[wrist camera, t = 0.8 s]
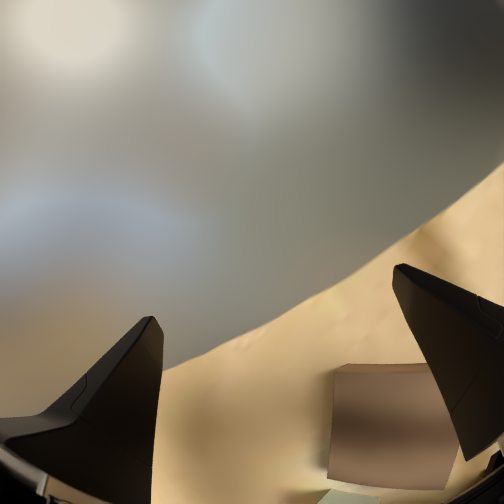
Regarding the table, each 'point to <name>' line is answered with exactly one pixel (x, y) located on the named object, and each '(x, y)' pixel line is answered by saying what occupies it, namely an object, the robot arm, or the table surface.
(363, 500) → the sage cube
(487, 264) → the table surface
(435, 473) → the walnut block
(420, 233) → the table surface
